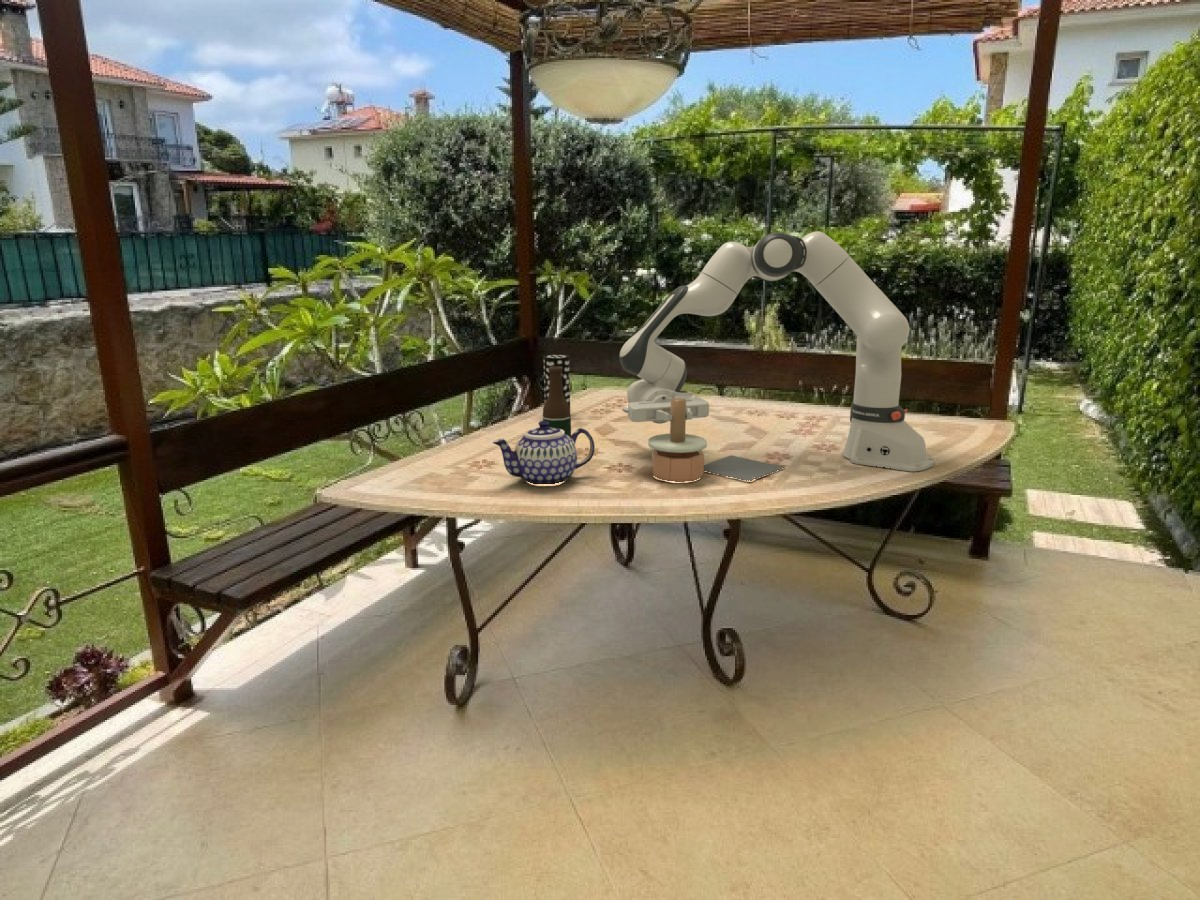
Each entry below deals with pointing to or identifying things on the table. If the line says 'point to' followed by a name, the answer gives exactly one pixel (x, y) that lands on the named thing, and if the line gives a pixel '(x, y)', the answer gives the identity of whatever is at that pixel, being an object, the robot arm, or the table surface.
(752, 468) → the mat
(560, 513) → the table surface
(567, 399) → the spotted tube
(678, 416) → the lid
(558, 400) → the beer bottle
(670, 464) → the bowl
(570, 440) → the teapot
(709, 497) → the table surface
